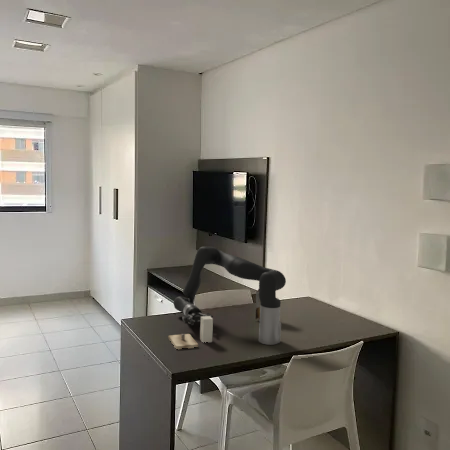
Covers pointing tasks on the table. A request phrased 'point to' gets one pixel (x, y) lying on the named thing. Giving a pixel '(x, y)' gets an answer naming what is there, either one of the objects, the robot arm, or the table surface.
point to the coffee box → (257, 307)
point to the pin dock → (182, 341)
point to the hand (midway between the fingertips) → (201, 322)
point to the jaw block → (206, 329)
